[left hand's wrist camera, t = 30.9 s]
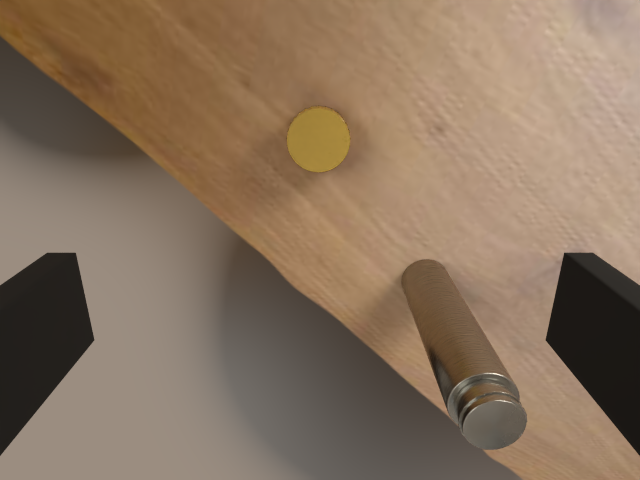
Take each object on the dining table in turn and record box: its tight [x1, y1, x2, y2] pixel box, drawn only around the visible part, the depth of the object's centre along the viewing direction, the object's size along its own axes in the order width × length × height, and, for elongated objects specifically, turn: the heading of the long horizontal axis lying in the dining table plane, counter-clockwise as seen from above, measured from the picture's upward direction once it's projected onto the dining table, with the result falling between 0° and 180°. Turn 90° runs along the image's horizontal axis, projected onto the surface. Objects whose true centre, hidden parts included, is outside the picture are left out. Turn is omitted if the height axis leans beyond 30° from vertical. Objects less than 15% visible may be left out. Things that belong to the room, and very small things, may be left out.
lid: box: [286, 106, 351, 172], centre depth 40 cm, size 6×6×2 cm
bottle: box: [402, 260, 527, 450], centre depth 37 cm, size 5×5×20 cm
